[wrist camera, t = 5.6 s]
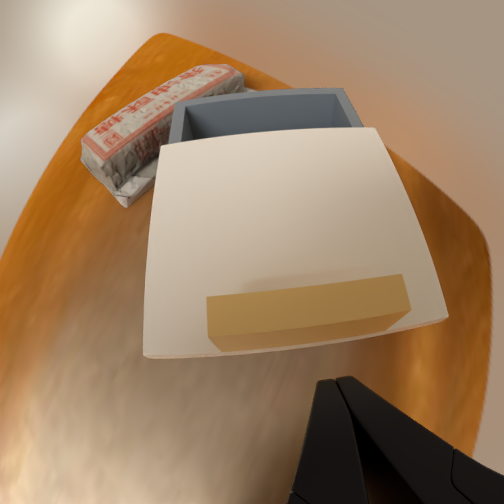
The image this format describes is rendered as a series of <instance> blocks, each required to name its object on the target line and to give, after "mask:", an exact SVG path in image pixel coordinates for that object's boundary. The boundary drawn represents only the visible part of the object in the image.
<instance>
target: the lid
mask: <svg viewBox="0 0 504 504" xmlns="http://www.w3.org/2000/svg"><path fill="white" fill-rule="evenodd" d="M447 317H449V315H448V311H447V307H446V304H445V300H444V296H443V293H442V289H441V286H440V283H439V279H438V276H437V273H436V270H435V267H434V264H433V261H432V258H431V255H430V252H429V249H428V246H427V243H426V240H425V238H424V235H423V232H422V230H421V227H420V224H419V222H418V219H417V217H416V214H415V212H414V209H413V207H412V204H411V202H410V200H409V197H408V195H407V193H406V190H405V188H404V186H403V183H402V181H401V179H400V177H399V175H398V172H397V170H396V168H395V166H394V164H393V162H392V160H391V158H390V156H389V154H388V152H387V150H386V148H385V146H384V144H383V142H382V140H381V138H380V136H379V134H378V132H377V131H376V129H375V128H371V127H352V128H314V129H295V130H280V131H268V132H257V133H246V134H237V135H229V136H221V137H213V138H206V139H199V140H192V141H186V142H179V143H173V144H168V145H162V146H161V148H160V154H159V160H158V167H157V173H156V180H155V187H154V195H153V203H152V211H151V220H150V229H149V240H148V251H147V263H146V277H145V294H144V318H143V356H145V357H147V358H150V359H172V358H197V357H215V356H229V355H242V354H253V353H264V352H273V351H282V350H291V349H299V348H306V347H314V346H321V345H328V344H334V343H340V342H347V341H353V340H358V339H364V338H369V337H375V336H380V335H385V334H390V333H395V332H400V331H404V330H409V329H414V328H418V327H422V326H427V325H431V324H435V323H439V322H441V321H443V320H444V319H446V318H447Z"/></svg>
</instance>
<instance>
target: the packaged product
mask: <svg viewBox="0 0 504 504" xmlns="http://www.w3.org/2000/svg"><path fill="white" fill-rule="evenodd" d="M244 82H245V77H244V74H243V73H241V72H239V71H237V70H235V69H234V68H233V67H231V66H229V65H226V64H220V65H219V64H213V65H211V64H210V65H209V64H206V65H204V64H203V65H199V66H197V67H194V68H192V69H190V70H188V71H186V72H184V73H182V74H180V75H179V76H177V77H176V78H173V79H171V80H169V81H168V82H166V83H164V84H162V85H160V86H159V87H157V88H155V89H154V90H152V91H150V92H149V93H147V94H145V95H143V96H142V97H140V98H139V99H137V100H136V101H134V102H132V103H130V104H129V105H127V106H126V107H124V108H123V109H121V110H119V111H118V112H117V113H115V114H114V115H112V116H111V117H109V118H108V119H106V120H105V121H103V122H102V123H101V124H99V125H98V126H96V127H95V128H94V129H92V130H90V131H89V132H88V133H86V135H85V136H84V137H83V138H81V144H82V157H81V158H80V160H81V161H82V162H83V164H84V165H85V166H86V167H87V169H88V170H89V171H90V172H91V173H92V174H93V176H94V177H96V178H97V179H98V180H99V181H100V182H101V183H102V184H103V185H104V186H106V188H107V189H108V190H109V191H110V192H111V194H112V195H113V196H114V197H115V198H116V199H117V200H118V202H119V203H120V204H121V205H122V206H124V207H125V208H126V207H129V206H130V205H131V204H133V203H134V202H135V201H136V200H137V199H138V198H140V197H141V196H142V195H143V194H144V193H146V192H147V191H148V190H149V189H150V188H152V187H153V186H154V185H155V180H156V173H157V167H158V160H159V154H160V148H161V146H162V145H168V142H169V136H170V129H171V123H172V117H173V111H174V106H175V102H179V101H185V100H191V99H197V98H204V97H210V96H218V95H226V94H234V93H243V92H254V91H255V90H253V89H250V88H247V87H245V84H244Z"/></svg>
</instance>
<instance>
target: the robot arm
mask: <svg viewBox="0 0 504 504" xmlns="http://www.w3.org/2000/svg"><path fill="white" fill-rule="evenodd" d="M286 504H504V475H501V474H500V473H497V472H495V471H493V470H491V469H489V468H487V467H486V466H484V465H482V464H480V463H478V462H477V461H475V460H474V459H472V458H470V457H469V456H467V455H465V454H464V453H462V452H461V451H459V450H458V449H454V447H453V446H452V445H450V444H448V443H447V442H445V441H444V440H442V439H441V438H440V437H438V436H437V435H435V434H434V433H432V432H431V431H429V430H428V429H426V428H425V427H423V426H422V425H420V424H419V423H417V422H416V421H415V420H413V419H412V418H410V417H409V416H407V415H406V414H404V413H403V412H402V411H400V410H399V409H397V408H396V407H394V406H393V405H392V404H390V403H389V402H387V401H386V400H385V399H383V398H382V397H380V396H379V395H378V394H376V393H375V392H373V391H372V390H371V389H369V388H368V387H366V386H365V385H364V384H362V383H361V382H360V381H358V380H357V379H355V378H354V377H353V376H345V377H339V378H336V379H335V380H334V379H326V380H320V381H318V382H317V384H316V388H315V393H314V398H313V403H312V407H311V412H310V416H309V420H308V425H307V429H306V433H305V437H304V441H303V445H302V449H301V453H300V457H299V461H298V464H297V468H296V472H295V475H294V479H293V482H292V486H291V489H290V493H289V495H288V498H287V502H286Z"/></svg>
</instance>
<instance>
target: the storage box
mask: <svg viewBox="0 0 504 504" xmlns="http://www.w3.org/2000/svg"><path fill="white" fill-rule="evenodd" d="M352 127H364V126H363V124H362V122H361V121H360V119H359V117H358V115H357V113H356V111H355V109H354V107H353V105H352V104H351V102H350V100H349V98H348V96H347V95H346V93H345V91H344V90H343V88H303V89H280V90H266V91H254V92H243V93H234V94H226V95H218V96H210V97H204V98H197V99H191V100H185V101H179V102H175V106H174V111H173V117H172V123H171V129H170V136H169V142H168V144H173V143H179V142H186V141H192V140H199V139H206V138H213V137H221V136H229V135H237V134H246V133H257V132H268V131H280V130H295V129H314V128H352Z"/></svg>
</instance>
